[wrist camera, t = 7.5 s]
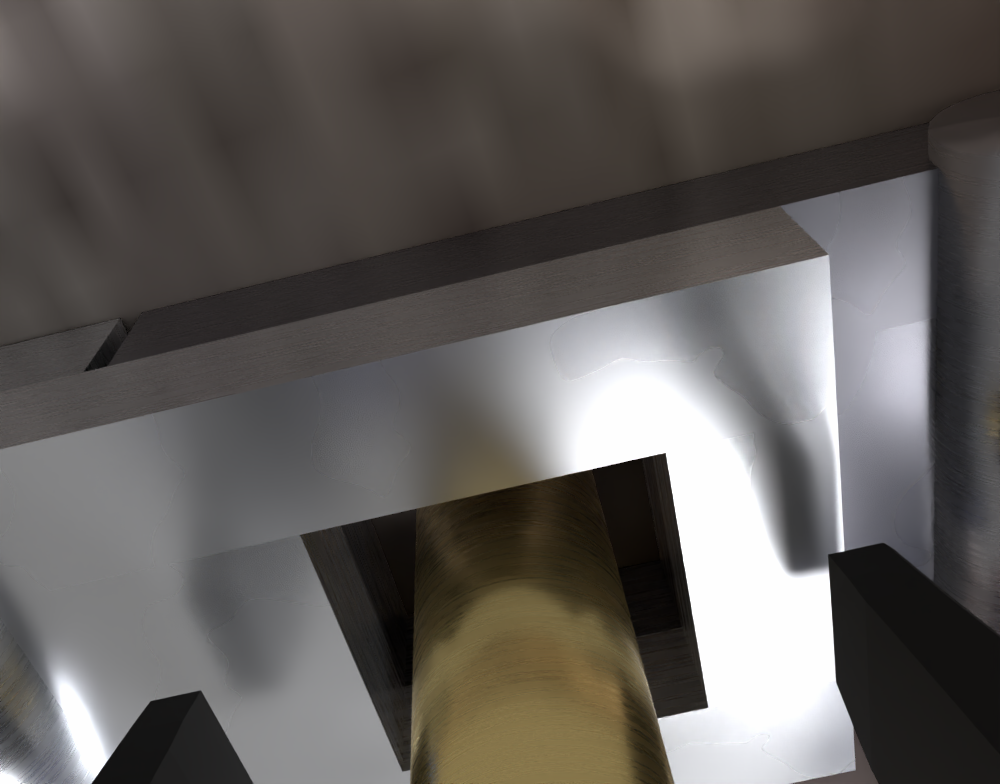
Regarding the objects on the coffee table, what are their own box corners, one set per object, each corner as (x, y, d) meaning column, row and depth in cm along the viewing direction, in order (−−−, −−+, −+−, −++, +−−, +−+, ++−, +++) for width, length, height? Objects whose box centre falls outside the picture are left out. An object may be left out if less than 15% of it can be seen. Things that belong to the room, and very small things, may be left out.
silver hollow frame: (786, 633, 16) (892, 862, 12) (15, 796, 17) (-101, 1057, 13) (739, 145, 12) (880, 274, 8) (-294, 395, 12) (-595, 617, 9)
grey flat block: (1141, 557, 16) (1267, 681, 13) (337, 728, 16) (321, 873, 14) (1226, 26, 11) (1434, 70, 9) (132, 292, 12) (60, 395, 10)
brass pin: (598, 530, 15) (749, 1139, 8) (435, 557, 15) (438, 1188, 8) (579, 389, 13) (742, 969, 6) (401, 419, 13) (367, 1026, 6)
